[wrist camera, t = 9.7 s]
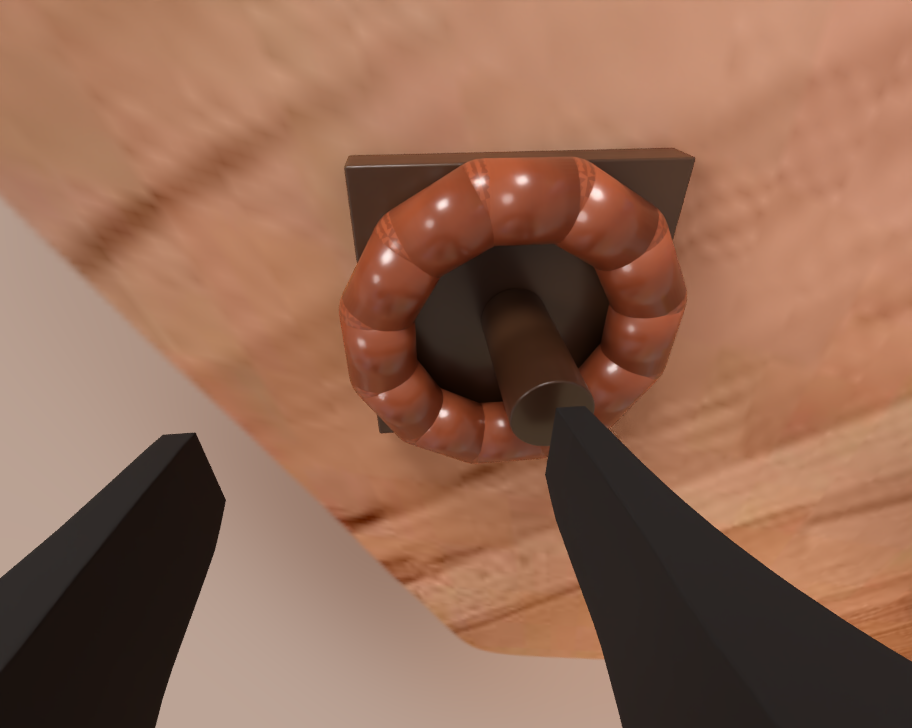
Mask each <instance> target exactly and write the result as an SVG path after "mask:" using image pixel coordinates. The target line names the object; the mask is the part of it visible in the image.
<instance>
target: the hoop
mask: <svg viewBox="0 0 912 728" xmlns="http://www.w3.org/2000/svg"><path fill="white" fill-rule="evenodd" d="M543 244H555V245H556V246H558V247H560V248H562V249H563V250H565V251H567V252H568V253H570V254H572V255H574V256H575V257H577V258H579V259H581V260H582V261H584V262H586V263H588V264H589V265H591V266H593V267H594V268H595V270H596V273H597V275H598V277H599V280H600V282H601V285H602V287H603V289H604V292H605V294H606V296H607V299H608V301H609V306H608V311H607V316H606V320H605V325H604V329H603V334H602V338H601V343H600V344H599V345H598V346H597V348H596V349H595V350H594V351H593V352H592V353H591V355H590V356H589V357H588V358H587V359H586V360H585V362H584V363H583V364H582V365H581V366H580V367H579V371H580V373H581V375H582V377H583V379H584V381H585V383H586V385H587V386H588V388H589V390H590V392H591V394H592V396H593V398H594V402H595V410H594V415H595V416H596V417H597V418H598V419H599V420H600V421H601V422H602V423H603V424H604V425H605V426H606V427H607V428H610V427H611V426H612V425H614V424H615V423H616V422H617V421H618V420H619V418H620V417H621V416H622V415H623V414H624V413H625V412H626V411H627V410H628V409H629V408H630V407H631V406H632V405H633V404H634V403H635V402H636V401H637V400H638V399H639V398H640V397H641V396H642V395H643V394H644V393H645V392H646V391H647V390H648V389H649V388H650V387H651V386H652V385H653V384H654V383H655V382H656V381H657V380H658V379H659V377H660V376H661V375H662V373H663V371H664V369H665V367H666V364H667V361H668V358H669V355H670V352H671V349H672V346H673V343H674V340H675V337H676V334H677V331H678V328H679V325H680V322H681V319H682V316H683V313H684V309H685V306H686V302H687V290H686V286H685V282H684V279H683V275H682V272H681V269H680V265H679V262H678V258H677V255H676V252H675V248H674V245H673V241H672V238H671V235H670V231H669V228H668V225H667V222H666V219H665V217H664V216H663V214H662V213H661V212H660V211H659V209H658V208H656V207H655V206H654V205H653V204H651V203H650V202H648V201H647V200H645V199H644V198H642V197H641V196H639V195H638V194H637V193H635V192H634V191H632V190H631V189H629V188H628V187H626V186H625V185H623V184H622V183H620V182H619V181H617V180H616V179H615V178H613V177H612V176H610V175H609V174H607V173H606V172H604V171H603V170H601V169H600V168H598V167H597V166H595V165H594V164H592V163H591V162H589V161H587V160H585V159H582V158H578V157H570V156H569V157H521V158H481V159H475V160H471V161H469V162H467V163H465V164H463V165H461V166H459V167H458V168H456V169H455V170H453V171H451V172H450V173H448V174H447V175H445V176H444V177H442V178H440V179H439V180H437V181H436V182H434V183H432V184H431V185H429V186H428V187H426V188H425V189H423V190H421V191H420V192H418V193H417V194H415V195H414V196H412V197H410V198H409V199H407V200H406V201H404V202H402V203H401V204H399V205H398V206H396V207H395V208H393V209H391V210H390V211H389V212H387V213H386V214H385V215H383V217H382V218H381V219H380V220H379V221H378V223H377V225H376V226H375V228H374V230H373V232H372V234H371V236H370V239H369V241H368V243H367V245H366V247H365V249H364V251H363V253H362V255H361V257H360V259H359V261H358V263H357V265H356V267H355V269H354V271H353V274H352V276H351V278H350V280H349V282H348V284H347V286H346V288H345V290H344V292H343V294H342V297H341V300H340V305H339V316H340V322H341V328H342V334H343V340H344V347H345V353H346V359H347V365H348V371H349V378H350V381H351V384H352V386H353V388H354V390H355V391H356V393H357V394H358V395H359V396H360V397H361V398H362V399H363V400H364V401H365V402H366V403H367V404H368V406H369V407H370V408H371V409H372V410H373V411H374V412H375V413H376V414H377V415H378V416H379V417H380V418H381V419H382V420H383V421H384V422H385V423H386V424H387V425H388V426H389V428H390V429H391V430H392V431H393V432H394V433H395V434H396V435H397V436H398V437H399V438H400V439H402V440H403V441H405V442H407V443H409V444H412V445H415V446H418V447H421V448H424V449H427V450H430V451H433V452H436V453H439V454H442V455H445V456H448V457H451V458H454V459H457V460H460V461H463V462H466V463H471V464H479V463H492V462H506V461H519V460H532V459H541V458H545V457H548V454H549V448H550V446H535V445H531V444H528V443H525V442H523V441H522V440H520V439H519V438H518V437H517V436H516V435H515V434H514V433H513V431H512V430H511V427H510V424H509V421H508V417H507V414H506V410H505V407H504V403H503V401H501V402H486V403H478V402H475V401H473V400H470V399H468V398H465V397H463V396H460V395H457V394H455V393H452V392H450V391H447V390H444V389H442V388H440V387H439V386H438V385H437V383H436V382H435V381H434V380H433V378H432V377H431V376H430V375H429V373H428V372H427V371H426V370H425V368H424V367H423V366H422V364H421V363H420V362H419V361H418V359H417V348H416V329H415V320H416V318H417V316H418V315H419V313H420V311H421V309H422V308H423V306H424V304H425V303H426V301H427V299H428V298H429V296H430V294H431V293H432V291H433V289H434V288H435V286H436V284H437V283H438V281H439V279H440V278H441V277H442V276H444V275H445V274H447V273H449V272H450V271H452V270H454V269H456V268H457V267H459V266H461V265H463V264H464V263H466V262H468V261H470V260H471V259H473V258H475V257H476V256H478V255H480V254H482V253H483V252H485V251H487V250H489V249H490V248H492V247H494V246H515V245H543Z"/></svg>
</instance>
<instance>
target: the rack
mask: <svg viewBox="0 0 912 728" xmlns="http://www.w3.org/2000/svg"><path fill="white" fill-rule="evenodd" d="M569 156H570V157H578V158H582V159H585V160H587V161H589V162H591V163H592V164H594V165H595V166H597V167H598V168H600V169H601V170H603V171H604V172H606V173H607V174H609V175H610V176H612V177H613V178H615V179H616V180H617V181H619V182H620V183H622V184H623V185H625V186H626V187H628V188H629V189H631V190H632V191H634V192H635V193H637V194H638V195H639V196H641V197H642V198H644V199H645V200H647V201H648V202H650V203H651V204H653V205H654V206H655V207H656V208H658V209H659V211H660V212H661V213H662V214H663V216H664V217H665V219H666V222H667V225H668V228H669V231H670V235H671V238H672V241H673V237H674V233H675V230H676V226H677V223H678V219H679V216H680V212H681V208H682V205H683V201H684V198H685V194H686V190H687V187H688V183H689V180H690V176H691V173H692V169H693V165H694V162H695V157H693V156H691V155H688V154H686V153H684V152H682V151H679V150H677V149H675V148H651V149H609V150H567V151H525V152H483V153H441V154H399V155H357V156H349V157H348V159H347V162H346V165H345V168H344V170H345V177H346V185H347V192H348V200H349V207H350V215H351V222H352V230H353V237H354V245H355V252H356V260H357V263H358V261H359V259H360V257H361V255H362V253H363V251H364V249H365V247H366V245H367V243H368V241H369V239H370V236H371V234H372V232H373V230H374V228H375V226H376V225H377V223H378V221H379V220H380V219H381V218H382V217H383V215H385V214H386V213H387V212H389V211H390V210H391V209H393V208H395V207H396V206H398V205H399V204H401V203H402V202H404V201H406V200H407V199H409V198H410V197H412V196H414V195H415V194H417V193H418V192H420V191H421V190H423V189H425V188H426V187H428V186H429V185H431V184H432V183H434V182H436V181H437V180H439V179H440V178H442V177H444V176H445V175H447V174H448V173H450V172H451V171H453V170H455V169H456V168H458V167H459V166H461V165H463V164H465V163H467V162H469V161H471V160H475V159H481V158H521V157H569ZM608 306H609V301H608V299H607V296H606V294H605V292H604V289H603V287H602V285H601V282H600V280H599V277H598V275H597V273H596V270H595V268H594V267H593V266H591V265H589V264H588V263H586V262H584V261H582V260H581V259H579V258H577V257H575V256H574V255H572V254H570V253H568V252H567V251H565V250H563V249H562V248H560V247H558V246H556V245H555V244H543V245H515V246H494V247H492V248H490V249H489V250H487V251H485V252H483V253H482V254H480V255H478V256H476V257H475V258H473V259H471V260H470V261H468V262H466V263H464V264H463V265H461V266H459V267H457V268H456V269H454V270H452V271H450V272H449V273H447V274H445V275H444V276H442V277H441V278H440V279H439V281H438V283H437V284H436V286H435V288H434V289H433V291H432V293H431V294H430V296H429V298H428V299H427V301H426V303H425V304H424V306H423V308H422V309H421V311H420V313H419V315H418V316H417V318H416V320H415V329H416V348H417V359H418V361H419V362H420V363H421V364H422V366H423V367H424V368H425V370H426V371H427V372H428V373H429V375H430V376H431V377H432V378H433V380H434V381H435V382H436V383H437V385H438V386H439V387H440V388H442V389H444V390H447V391H450V392H452V393H455V394H457V395H460V396H463V397H465V398H468V399H470V400H473V401H475V402H478V403H486V402H501V401H503V403H504V407H505V410H506V414H507V417H508V421H509V424H510V427H511V430H512V431H513V433H514V434H515V435H516V436H517V437H518V438H519V439H520V440H522V441H523V442H525V443H528V444H531V445H535V446H550V442H551V436H552V430H553V424H554V418H555V412H556V408H559V407H574V406H586V407H587V408H588V409H589V410H590V411H591V412H592V413H593V414H594V410H595V402H594V398H593V396H592V394H591V392H590V390H589V388H588V386H587V385H586V383H585V381H584V379H583V377H582V375H581V373H580V371H579V367H580V366H581V365H582V364H583V363H584V362H585V360H586V359H587V358H588V357H589V356H590V355H591V353H592V352H593V351H594V350H595V349H596V348H597V346H598V345H599V344H600V343H601V338H602V334H603V329H604V325H605V320H606V316H607V311H608ZM623 415H624V414H623ZM623 415H622V416H623ZM377 418H378V426H379V432H380V433H394V432H393V431H392V430H391V429H390V428H389V426H388V425H387V424H386V423H385V422H384V421H383V420H382V419H381V418H380V417H379V416H378V415H377Z"/></svg>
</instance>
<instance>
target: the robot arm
mask: <svg viewBox="0 0 912 728" xmlns="http://www.w3.org/2000/svg"><path fill="white" fill-rule="evenodd" d="M545 476H546V480H547V484H548V489H549V493H550V498H551V502H552V506H553V510H554V514H555V518H556V521H557V524H558V527H559V530H560V533H561V535H562V538H563V541H564V544H565V547H566V549H567V552H568V555H569V558H570V560H571V563H572V566H573V569H574V571H575V574H576V577H577V579H578V582H579V585H580V588H581V590H582V593H583V596H584V599H585V601H586V604H587V607H588V609H589V612H590V615H591V618H592V620H593V623H594V626H595V629H596V632H597V635H598V638H599V642H600V645H601V648H602V651H603V655H604V659H605V662H606V666H607V670H608V674H609V677H610V681H611V685H612V689H613V692H614V696H615V700H616V704H617V707H618V711H619V715H620V719H621V723H622V727H623V728H912V662H911V661H910V660H908V659H906V658H905V657H903V656H901V655H900V654H898V653H896V652H895V651H893V650H891V649H890V648H888V647H886V646H885V645H883V644H881V643H880V642H878V641H877V640H875V639H873V638H872V637H870V636H869V635H867V634H866V633H864V632H862V631H861V630H859V629H858V628H856V627H854V626H853V625H851V624H850V623H848V622H846V621H845V620H843V619H842V618H840V617H839V616H837V615H836V614H834V613H833V612H831V611H830V610H828V609H827V608H825V607H824V606H822V605H821V604H819V603H818V602H816V601H815V600H813V599H812V598H810V597H809V596H807V595H806V594H804V593H803V592H801V591H800V590H798V589H797V588H796V587H794V586H793V585H791V584H790V583H788V582H787V581H786V580H784V579H783V578H781V577H780V576H778V575H777V574H776V573H774V572H773V571H771V570H770V569H769V568H767V567H766V566H765V565H763V564H762V563H761V562H759V561H758V560H757V559H755V558H754V557H753V556H751V555H750V554H749V553H747V552H746V551H745V550H743V549H742V548H741V547H739V546H738V545H737V544H735V543H734V542H733V541H731V540H730V539H729V538H728V537H726V536H725V535H724V534H723V533H721V532H720V531H719V530H718V529H716V528H715V527H714V526H713V525H711V524H710V523H709V522H708V521H707V520H706V519H704V518H703V517H702V516H701V515H700V514H698V513H697V512H696V511H695V510H694V509H693V508H691V507H690V506H689V505H688V504H687V503H685V502H684V501H683V500H682V499H681V498H680V497H679V496H678V495H676V494H675V493H674V492H673V491H672V490H671V489H670V488H669V487H668V486H667V485H665V484H664V483H663V482H662V481H661V480H660V479H659V478H658V477H657V476H656V475H655V474H654V473H653V472H652V471H650V470H649V469H648V468H647V467H646V466H645V465H644V464H643V463H642V462H641V461H640V460H639V459H638V458H637V457H636V456H635V455H634V454H633V453H632V452H631V451H630V450H629V449H628V448H627V447H626V446H625V445H624V444H623V443H622V442H621V441H620V440H619V439H618V438H617V437H616V436H615V435H614V434H613V433H612V432H611V431H610V430H609V429H608V428H607V427H606V426H605V425H604V424H603V423H602V422H601V421H600V420H599V419H598V418H597V417H596V416H595V415H594V414H593V413H592V412H591V411H590V410H589V409H588V408H587V407H586V406H574V407H559V408H556V412H555V418H554V424H553V430H552V436H551V442H550V448H549V454H548V460H547V467H546V473H545ZM225 501H226V499H225V497H224V495H223V493H222V491H221V488H220V486H219V484H218V482H217V479H216V477H215V475H214V473H213V471H212V469H211V466H210V464H209V462H208V460H207V457H206V455H205V453H204V451H203V448H202V446H201V444H200V442H199V440H198V437H197V435H196V433H183V434H168V435H162V436H161V437H160V438H159V439H158V440H156V441H155V442H154V443H153V444H152V445H151V446H149V447H148V448H147V449H146V450H145V451H144V452H143V453H142V454H141V455H139V456H138V457H137V458H136V459H135V460H134V461H133V462H132V463H131V464H130V465H129V466H128V467H126V468H125V469H124V470H123V471H122V472H121V473H120V474H119V475H118V476H117V477H116V478H115V479H113V480H112V481H111V482H110V483H109V484H108V485H107V486H106V487H105V488H104V489H102V490H101V491H100V492H99V493H98V494H97V495H96V496H95V497H94V498H92V499H91V500H90V501H89V502H88V503H87V504H86V505H85V506H84V507H82V508H81V509H80V510H79V511H78V512H77V513H76V514H75V515H74V516H72V517H71V518H70V519H69V520H68V521H67V522H66V523H65V524H64V525H62V526H61V527H60V528H59V529H58V530H57V531H56V532H54V533H53V534H52V535H51V536H50V537H49V538H47V539H46V540H45V541H44V542H43V543H42V544H40V545H39V546H38V547H37V548H35V549H34V550H33V551H32V552H31V553H30V554H28V555H27V556H26V557H25V558H24V559H23V560H21V561H20V562H19V563H18V564H17V565H15V566H14V567H13V568H12V569H11V570H9V571H8V572H7V573H6V574H5V575H3V576H2V577H1V578H0V728H155V726H156V722H157V718H158V715H159V711H160V707H161V703H162V699H163V696H164V693H165V690H166V687H167V683H168V680H169V677H170V674H171V671H172V668H173V665H174V663H175V660H176V657H177V654H178V652H179V648H180V646H181V643H182V641H183V638H184V635H185V632H186V629H187V627H188V624H189V621H190V619H191V616H192V613H193V610H194V607H195V605H196V602H197V599H198V597H199V594H200V591H201V588H202V585H203V583H204V580H205V577H206V574H207V571H208V569H209V565H210V563H211V560H212V557H213V554H214V551H215V547H216V543H217V539H218V534H219V530H220V526H221V521H222V516H223V511H224V507H225Z"/></svg>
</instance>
